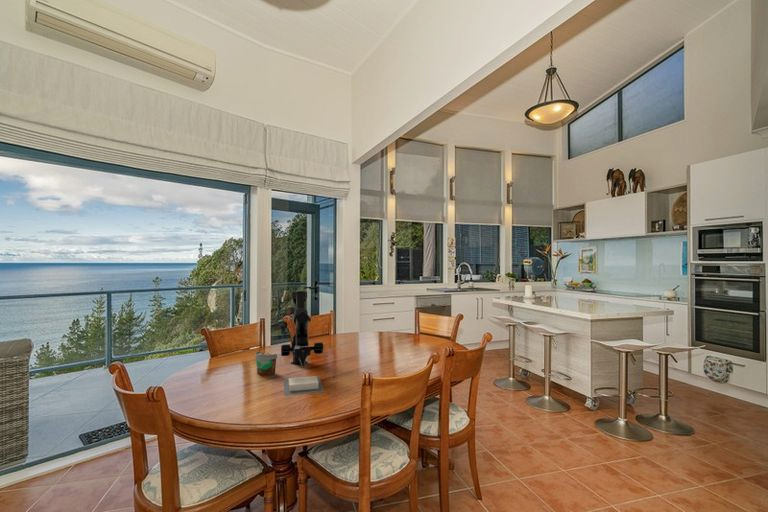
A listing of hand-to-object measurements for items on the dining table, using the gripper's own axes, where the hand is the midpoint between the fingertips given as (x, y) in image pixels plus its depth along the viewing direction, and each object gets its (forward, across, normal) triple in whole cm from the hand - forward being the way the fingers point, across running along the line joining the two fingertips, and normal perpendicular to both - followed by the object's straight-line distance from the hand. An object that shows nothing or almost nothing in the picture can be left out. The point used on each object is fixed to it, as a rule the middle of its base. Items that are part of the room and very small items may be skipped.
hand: (303, 365), depth 153 cm
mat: (+7, 0, -5) cm, 9 cm away
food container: (-8, +18, -20) cm, 28 cm away
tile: (+4, 0, -5) cm, 7 cm away
